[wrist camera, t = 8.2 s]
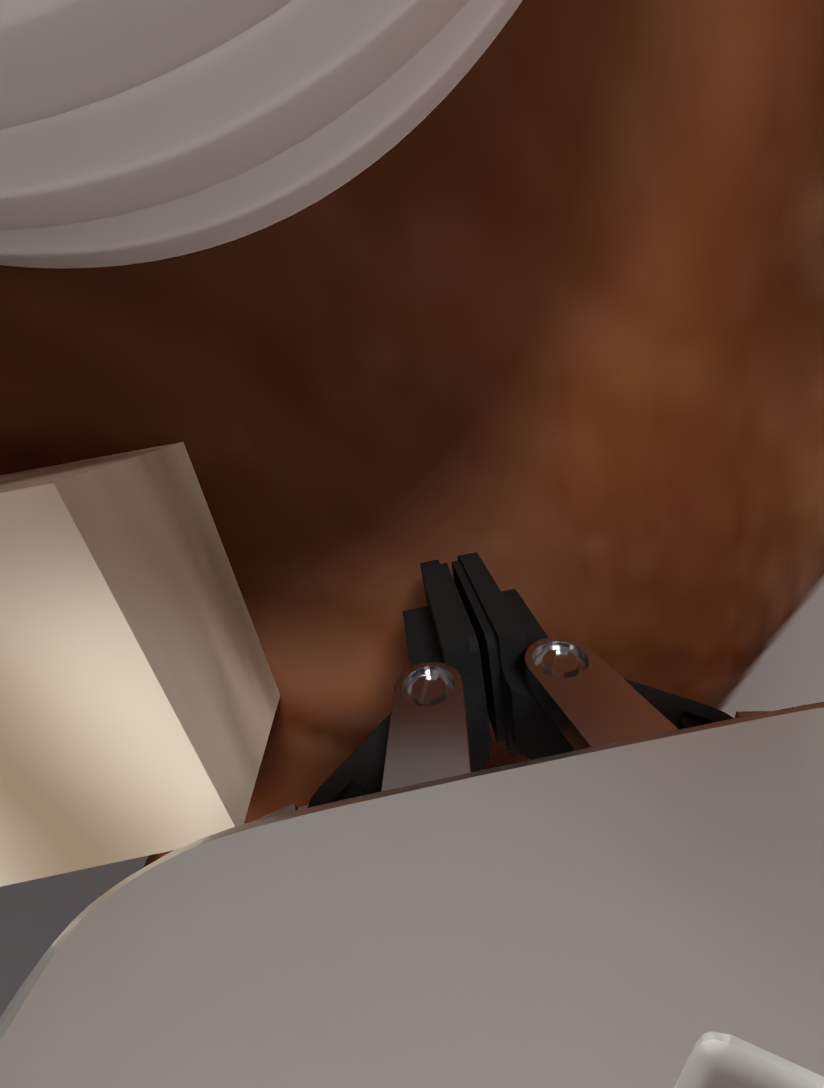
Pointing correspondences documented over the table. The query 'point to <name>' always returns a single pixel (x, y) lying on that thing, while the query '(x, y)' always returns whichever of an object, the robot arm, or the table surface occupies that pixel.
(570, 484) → the table surface
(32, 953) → the gray board
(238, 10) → the plate stack
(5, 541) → the cream block
